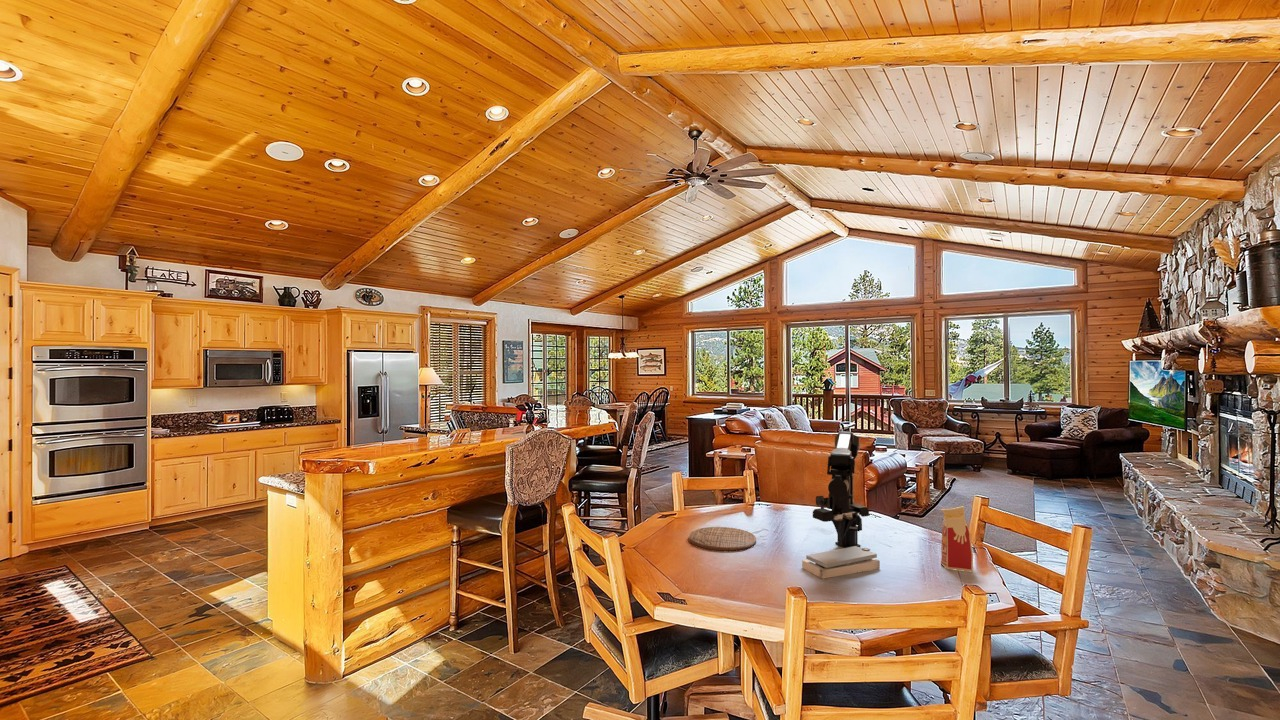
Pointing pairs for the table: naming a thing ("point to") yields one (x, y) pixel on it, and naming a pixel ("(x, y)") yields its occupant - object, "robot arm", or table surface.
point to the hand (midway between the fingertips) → (841, 538)
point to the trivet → (722, 539)
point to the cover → (841, 556)
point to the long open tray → (840, 568)
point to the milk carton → (956, 541)
